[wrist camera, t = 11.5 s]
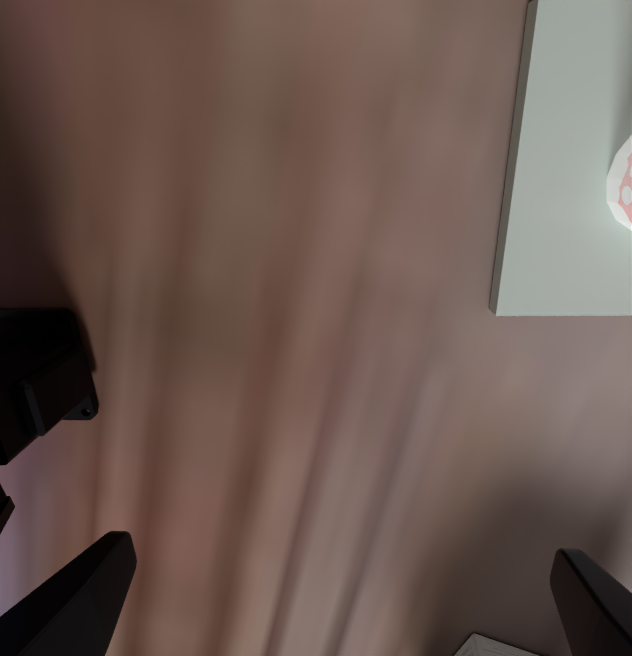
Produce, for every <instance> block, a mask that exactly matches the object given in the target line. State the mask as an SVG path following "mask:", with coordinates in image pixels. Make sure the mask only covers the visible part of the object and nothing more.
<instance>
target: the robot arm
mask: <svg viewBox="0 0 632 656" xmlns="http://www.w3.org/2000/svg"><path fill="white" fill-rule="evenodd" d="M60 315H62V316H63V317H64V318H65V321H63V320H62V319H61V317H60ZM93 390H94V388H93V384H92V381H91V377H90V373H89V369H88V365H87V361H86V357H85V353H84V350H83V348H82V344H81V340H80V336H79V332H78V328H77V325H76V321H75V317H74V315H73V313H72V312H71V311H70V310H69V309H67V308H0V465H7V464H8V463H9V462H10V461H11V460H12V459H13V458H15V457H16V456H17V455H18V454H19V453H20V452H21V451H22V450H24V449H25V448H26V447H27V446H28V445H29V444H30V443H32V442H33V441H34V440H35V439H36V438H37V437H38V436H44V435H45V434H46V433H48V432H49V431H50V430H51V429H52V428H53V427H54V426H55V425H56V424H58V423H59V422H60V421H61V420H91V419H92V418H94V417H95V416H96V415H97V413H98V406H97V402H96V399H95V395H94V391H93ZM86 409H87V410H89V412H88V411H86ZM14 508H15V505H14V503H13V501H12V499H11V497H10V496H6V494H5V492H4V490H3V488H2V486H1V484H0V534H1V532H2V530H3V528H4V526H5V525H6V523H7V521H8V519H9V517H10V515H11V514H12V512H13V510H14ZM136 564H137V558H136V553H135V549H134V546H133V542H132V538H131V535H130V533H129V532H126V531H110V532H108V533H107V534H105V535H104V536H103V537H101V538H100V539H99V540H98V541H96V542H95V543H94V544H92V545H91V546H90V547H89V548H87V549H86V550H85V551H83V552H82V553H81V554H80V555H78V556H77V557H76V558H75V559H73V560H72V561H71V562H69V563H68V564H67V565H66V566H64V567H63V568H62V569H61V570H59V571H58V572H57V573H55V574H54V575H53V576H52V577H50V578H49V579H48V580H46V581H45V582H44V583H43V584H41V585H40V586H39V587H38V588H36V589H35V590H34V591H32V592H31V593H30V594H29V595H27V596H26V597H25V598H23V599H22V600H21V601H20V602H18V603H17V604H16V605H15V606H13V607H12V608H11V609H9V610H8V611H7V612H6V613H4V614H3V615H2V616H0V656H105V654H106V651H107V649H108V647H109V644H110V641H111V639H112V636H113V633H114V630H115V627H116V624H117V622H118V619H119V616H120V613H121V610H122V607H123V604H124V601H125V599H126V596H127V593H128V590H129V587H130V584H131V581H132V578H133V575H134V573H135V569H136ZM550 585H551V590H552V593H553V596H554V599H555V602H556V605H557V609H558V612H559V615H560V618H561V621H562V624H563V627H564V630H565V634H566V637H567V640H568V643H569V646H570V649H571V652H572V655H573V656H632V593H631V592H630V591H629V590H628V589H626V588H625V587H624V586H623V585H622V584H620V583H619V582H618V581H617V580H616V579H615V578H613V577H612V576H611V575H610V574H609V573H608V572H606V571H605V570H604V569H603V568H602V567H601V566H599V565H598V564H597V563H596V562H595V561H594V560H592V559H591V558H590V557H589V556H588V555H586V554H585V553H584V552H583V551H581V550H579V549H567V548H560V549H558V550H557V551H556V554H555V558H554V562H553V566H552V570H551V574H550Z"/></svg>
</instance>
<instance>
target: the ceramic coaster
mask: <svg viewBox="0 0 632 656" xmlns="http://www.w3.org/2000/svg"><path fill="white" fill-rule="evenodd" d="M631 135H632V0H532V1H531V2H530V3H529V4H528V8H527V16H526V24H525V32H524V39H523V47H522V55H521V63H520V71H519V78H518V86H517V94H516V102H515V110H514V117H513V125H512V133H511V141H510V149H509V156H508V164H507V172H506V180H505V188H504V195H503V203H502V211H501V219H500V227H499V235H498V242H497V250H496V258H495V266H494V274H493V281H492V289H491V297H490V305H489V309H490V310H491V311H492V313H493V314H494V315H495V316H619V315H632V231H631V230H630V229H629V228H627V227H626V226H624V225H623V224H622V223H620V222H619V221H617V220H616V219H615V217H614V215H613V213H612V211H611V209H610V207H609V205H608V203H607V176H608V173H609V170H610V168H611V165H612V163H613V160H614V158H615V155H616V153H617V152H618V151H619V150H620V148H621V147H622V146H623V145H624V144H625V142H626V141H627V140H628V139H629V138H630V136H631Z"/></svg>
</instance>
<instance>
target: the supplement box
mask: <svg viewBox="0 0 632 656" xmlns="http://www.w3.org/2000/svg"><path fill="white" fill-rule="evenodd" d="M454 656H539V655H536V654H533V653H530V652H527V651H524V650H521V649H518V648H516V647H513V646H509V645H506V644H503V643H501V642H498V641H495V640H492V639H489V638H486V637H483V636H481V635H478V634H475V633H474V634H472V635H471V637H470V638H469V639H468V640H467V641H466V642H465V644H464V645H463V646H462V647H461V648H460V649H459V651H458V652H457V653H456V654H455V655H454Z"/></svg>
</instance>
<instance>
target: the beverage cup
mask: <svg viewBox="0 0 632 656" xmlns="http://www.w3.org/2000/svg"><path fill="white" fill-rule="evenodd" d="M607 203H608V205H609V207H610V209H611V211H612V213H613V215H614V217H615V219H616V220H617V221H619V222H620V223H622V224H623V225H624V226H626V227H627V228H629V229H630V230H631V231H632V135H631V136H630V138H629V139H628V140H627V141H626V142H625V144H624V145H623V146H622V147H621V148H620V150H619V151H618V152H617V153H616V155H615V158H614V160H613V163H612V165H611V168H610V170H609V173H608V176H607Z"/></svg>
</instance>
